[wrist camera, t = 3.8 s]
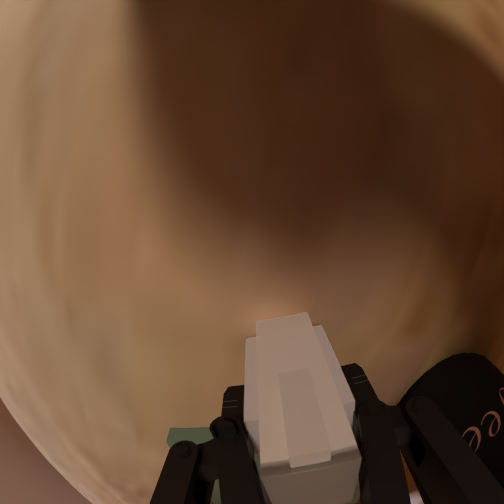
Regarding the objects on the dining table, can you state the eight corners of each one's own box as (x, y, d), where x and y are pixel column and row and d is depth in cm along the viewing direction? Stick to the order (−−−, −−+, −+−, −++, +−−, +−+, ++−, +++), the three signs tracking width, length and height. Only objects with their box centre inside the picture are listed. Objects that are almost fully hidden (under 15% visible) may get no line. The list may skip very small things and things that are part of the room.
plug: (253, 310, 16) (256, 467, 6) (306, 301, 16) (363, 447, 6) (266, 373, 17) (276, 515, 7) (312, 364, 17) (351, 501, 7)
